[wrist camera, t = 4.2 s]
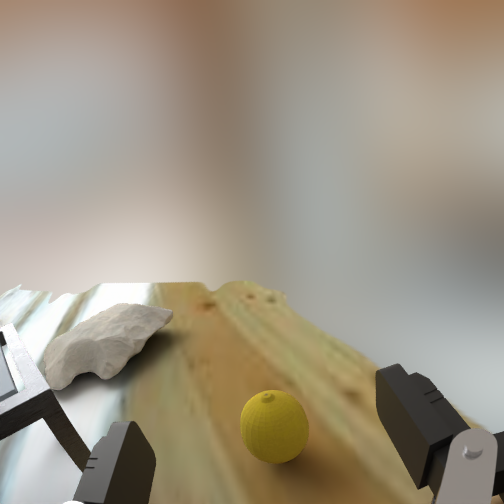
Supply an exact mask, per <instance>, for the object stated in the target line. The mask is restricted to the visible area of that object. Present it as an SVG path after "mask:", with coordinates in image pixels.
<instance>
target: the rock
mask: <svg viewBox="0 0 504 504" xmlns="http://www.w3.org/2000/svg"><path fill="white" fill-rule="evenodd" d="M172 317H173V311H172V310H168V309H164V308H161V307H155V306H145V305H139V304H127V303H122V304H116V305H114V306H112V307H111V308H109V309H107V310H105V311H102V312H100V313H98V314H97V315H95V316H93V317H91V318H90V319H89V320H86V321H84V322H81V323H79V324H78V325H77V326H76V327H74V328H73V329H72V330H70V331H68V332H67V333H65V334H62V335H60V336H58V337H57V338H55V339H54V340H53V341H52V342H50V343H49V344H48V345H47V347H46V349H45V352H44V361H43V362H44V365H45V368H46V369H45V376H46V382H47V384H48V385H49V387H50V388H51V389H54V390H61V389H63V388H64V387H66V386H67V385H69V384H70V383H71V382H72V380H73V379H74V377H75V376H77V375H79V374H82V373H86V372H93V373H96V374H97V375H98V376H100V378H101V379H103V380H105V379H110V378H112V377H113V376H115V375H116V374H118V373H119V372H120V371H121V370H122V368H123V367H124V366H125V365H126V363H127V361H128V360H129V359H130V358H131V357H133V356H134V355H136V354H137V353H139V352H140V351H141V350H142V348H143V347H144V345H145V342H146V340H148V339H149V338H150V337H151V336H152V335H153V334H154V333H155V332H156V331H158V330H159V329H161V328H163V327H164V326H165V325H166V324H167V323H169V322H170V321H171V319H172ZM106 361H107V362H106Z"/></svg>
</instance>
